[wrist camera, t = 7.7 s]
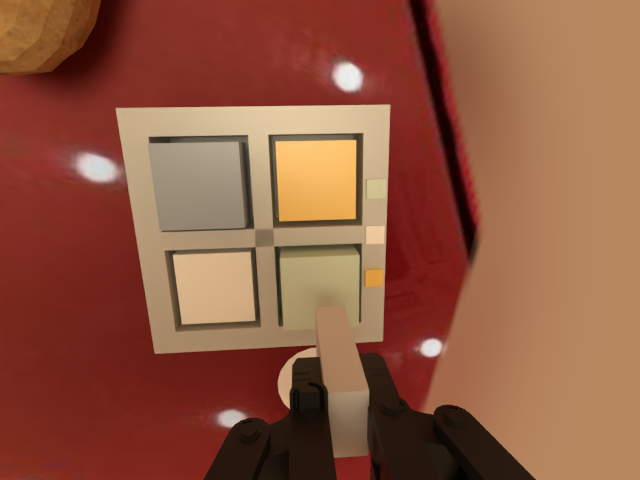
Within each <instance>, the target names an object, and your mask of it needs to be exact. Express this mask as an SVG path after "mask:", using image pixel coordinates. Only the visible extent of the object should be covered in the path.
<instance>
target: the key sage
mask: <svg viewBox="0 0 640 480" xmlns="http://www.w3.org/2000/svg"><path fill="white" fill-rule="evenodd" d="M359 264H360V255H359V253H358V252H357V250H356V248H355V247H354V245H353V244H339V245H312V246H285V247H281V253H280V271H281V291H282V311H283V330H284V331H285V330H304V329H316V316H315V307H331V306H344V307H345V310H346V314H347V317H348V320H349V324H350V327H359Z"/></svg>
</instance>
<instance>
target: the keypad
mask: <svg viewBox="0 0 640 480" xmlns="http://www.w3.org/2000/svg"><path fill="white" fill-rule="evenodd" d="M116 113H117V120H118V126H119V132H120V139H121V145H122V151H123V157H124V164H125V170H126V176H127V183H128V189H129V195H130V201H131V208H132V214H133V220H134V227H135V233H136V239H137V245H138V252H139V258H140V264H141V271H142V277H143V283H144V289H145V296H146V302H147V308H148V315H149V321H150V327H151V333H152V340H153V346H154V352H155V354H161V353H180V352H198V351H216V350H234V349H252V348H270V347H289V346H307V345H316V329H304V330H285V331H284V330H283V311H282V291H281V271H280V253H281V247H285V246H312V245H339V244H353V245H354V247H355V248H356V250H357V252H358V253H359V255H360V264H359V327H351V331H352V334H353V337H354V341H355V343H361V342H380V341H383V320H384V288H385V256H386V224H387V192H388V160H389V128H390V105H334V106H252V107H170V108H116ZM327 140H356V219H339V220H309V221H279V205H278V185H277V165H276V145H275V141H327ZM204 142H245V155H246V169H247V183H248V197H249V211H250V220H249V222H248V224H247V225H246V227H245V228H229V229H199V230H169V231H160V229H159V222H158V215H157V207H156V200H155V193H154V186H153V179H152V172H151V165H150V158H149V150H148V144H150V143H204ZM247 247H255V255H256V270H257V284H258V299H259V306H258V311H257V315H256V320H255V321H240V322H220V323H200V324H182V321H181V313H180V306H179V298H178V291H177V283H176V276H175V268H174V261H173V254H174V253H176V252H177V251H178V250H193V249H220V248H247Z"/></svg>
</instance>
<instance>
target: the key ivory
mask: <svg viewBox="0 0 640 480" xmlns="http://www.w3.org/2000/svg"><path fill="white" fill-rule="evenodd" d="M173 261H174V268H175V276H176V283H177V291H178V298H179V306H180V313H181V321H182V324H200V323H220V322H240V321H255V320H256V315H257V311H258V306H259V299H258V284H257V270H256V255H255V247H247V248H220V249H193V250H178V251H177V252H176V253H174V254H173Z"/></svg>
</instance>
